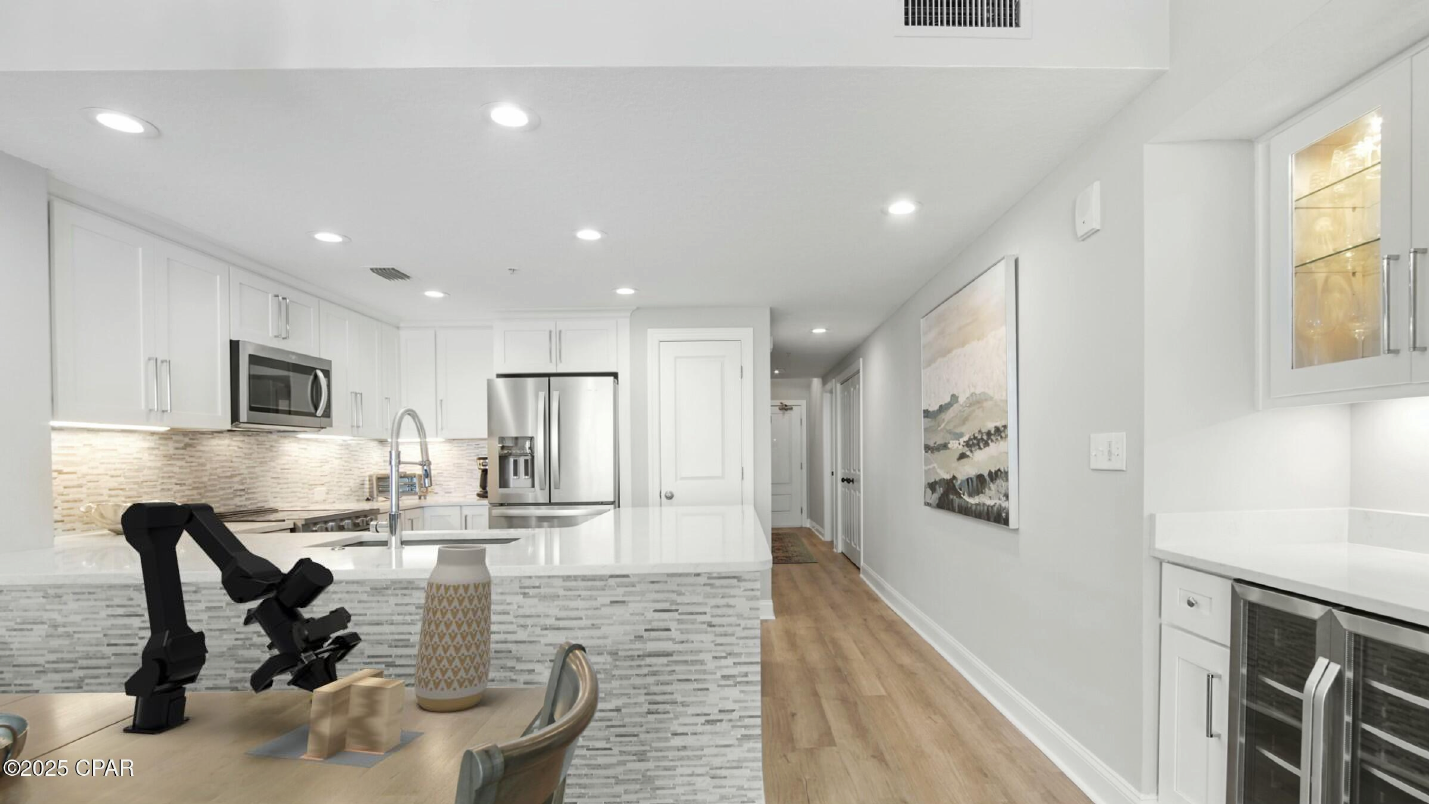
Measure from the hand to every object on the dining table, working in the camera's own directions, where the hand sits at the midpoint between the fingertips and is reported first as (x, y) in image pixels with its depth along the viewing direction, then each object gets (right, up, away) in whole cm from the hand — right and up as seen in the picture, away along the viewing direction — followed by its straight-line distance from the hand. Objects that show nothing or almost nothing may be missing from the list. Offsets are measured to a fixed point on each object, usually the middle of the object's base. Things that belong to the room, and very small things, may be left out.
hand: (337, 699), depth 107 cm
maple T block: (+5, -7, -2) cm, 9 cm away
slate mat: (+1, -7, -1) cm, 7 cm away
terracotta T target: (+5, -7, -2) cm, 9 cm away
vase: (+11, -10, +19) cm, 24 cm away
